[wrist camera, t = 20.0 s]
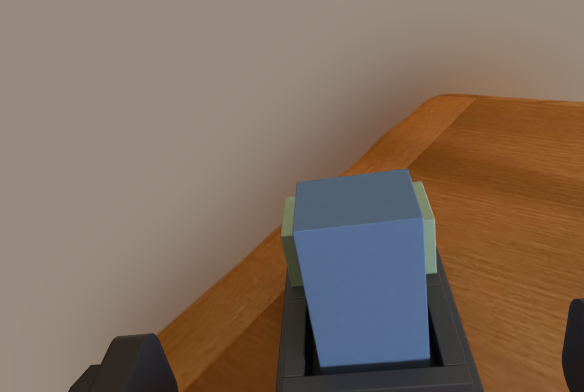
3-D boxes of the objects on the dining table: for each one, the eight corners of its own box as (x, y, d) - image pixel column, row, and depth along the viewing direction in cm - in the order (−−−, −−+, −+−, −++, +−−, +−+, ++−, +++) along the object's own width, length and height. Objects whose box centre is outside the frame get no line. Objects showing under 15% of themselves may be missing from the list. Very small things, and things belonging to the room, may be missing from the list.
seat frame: (498, 459, 22) (506, 338, 18) (275, 469, 23) (240, 359, 20) (433, 251, 35) (430, 155, 31) (292, 266, 36) (272, 176, 32)
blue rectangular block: (431, 392, 24) (423, 217, 19) (326, 399, 24) (291, 232, 19) (417, 330, 27) (407, 167, 22) (326, 337, 28) (296, 181, 23)
